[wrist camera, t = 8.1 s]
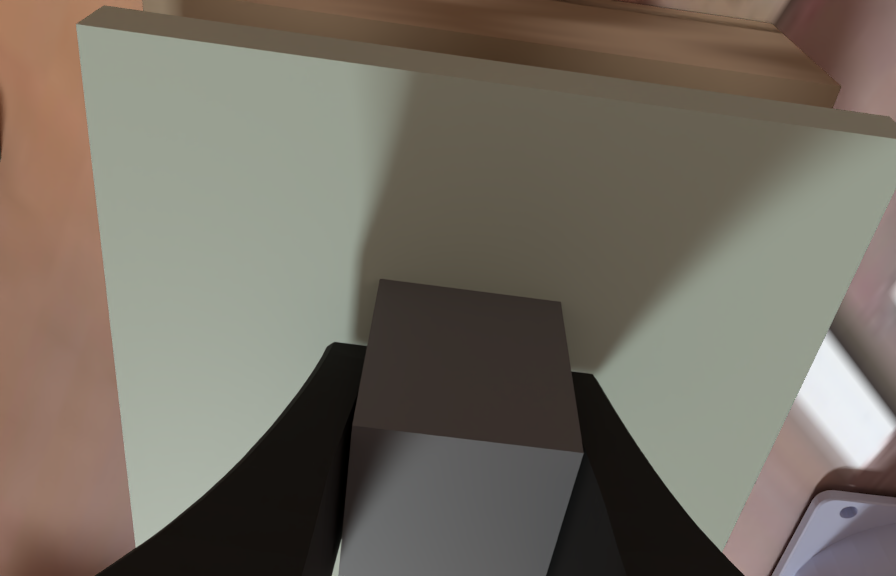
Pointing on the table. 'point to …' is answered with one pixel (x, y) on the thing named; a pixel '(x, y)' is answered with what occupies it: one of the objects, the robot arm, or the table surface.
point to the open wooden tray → (555, 38)
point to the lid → (458, 273)
